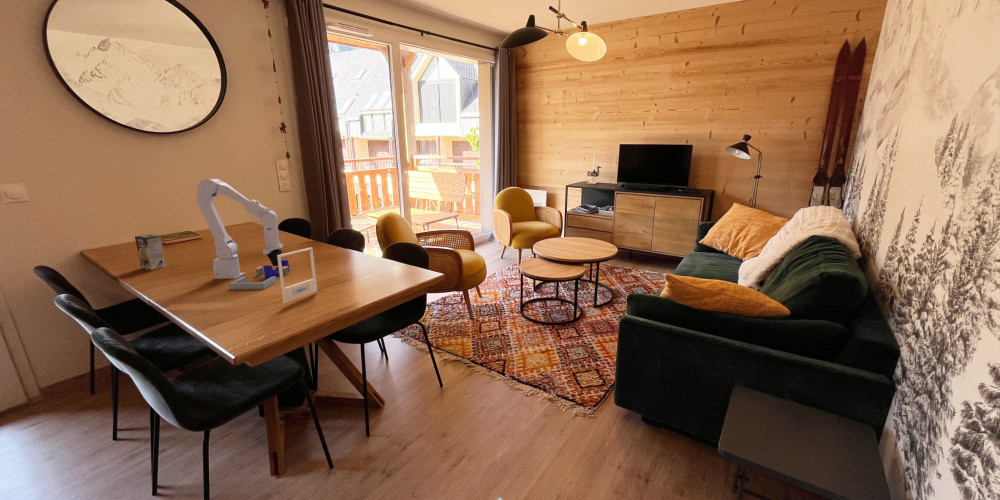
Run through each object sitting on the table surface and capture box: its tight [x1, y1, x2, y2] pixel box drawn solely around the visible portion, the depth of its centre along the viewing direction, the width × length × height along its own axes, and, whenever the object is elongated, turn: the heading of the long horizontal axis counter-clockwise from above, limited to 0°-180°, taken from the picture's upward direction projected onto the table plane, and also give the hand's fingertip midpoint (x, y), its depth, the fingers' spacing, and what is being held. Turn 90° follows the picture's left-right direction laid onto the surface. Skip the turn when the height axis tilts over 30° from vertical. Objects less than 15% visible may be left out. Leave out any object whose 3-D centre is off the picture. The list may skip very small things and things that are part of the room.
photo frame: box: [277, 247, 318, 304], centre depth 153 cm, size 15×1×18 cm, turn 155°
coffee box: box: [134, 234, 167, 271], centre depth 195 cm, size 9×6×16 cm
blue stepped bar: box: [262, 259, 290, 280], centre depth 184 cm, size 12×4×6 cm, turn 169°
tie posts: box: [255, 266, 290, 277], centre depth 184 cm, size 13×3×4 cm, turn 93°
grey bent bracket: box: [228, 276, 277, 291], centre depth 169 cm, size 14×10×2 cm
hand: (275, 265), depth 187 cm, fingers closed
